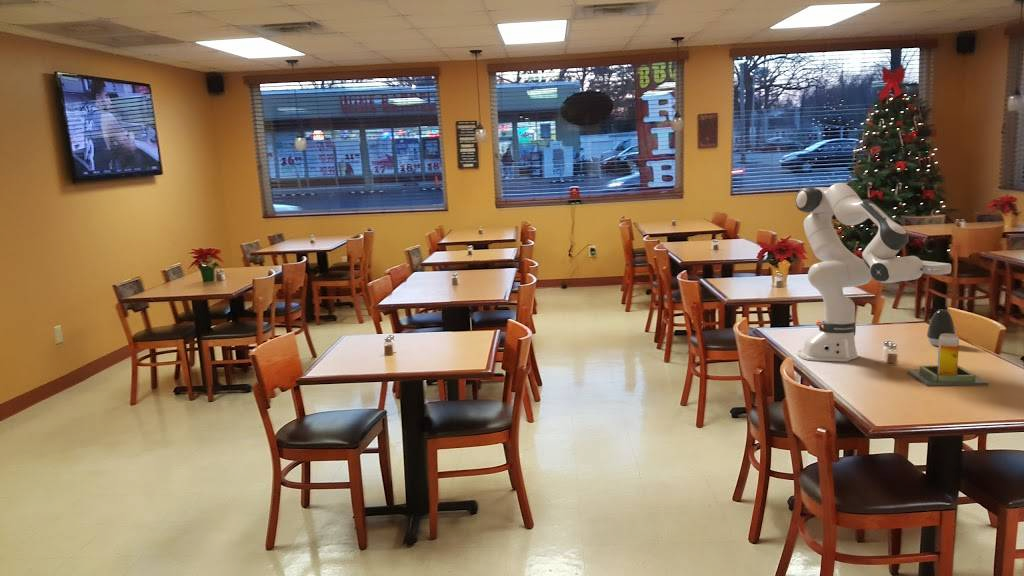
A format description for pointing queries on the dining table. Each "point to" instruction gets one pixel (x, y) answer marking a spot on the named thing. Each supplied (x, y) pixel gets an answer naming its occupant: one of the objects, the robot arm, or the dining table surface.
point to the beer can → (948, 354)
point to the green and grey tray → (946, 377)
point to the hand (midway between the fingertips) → (936, 264)
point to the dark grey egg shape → (940, 326)
